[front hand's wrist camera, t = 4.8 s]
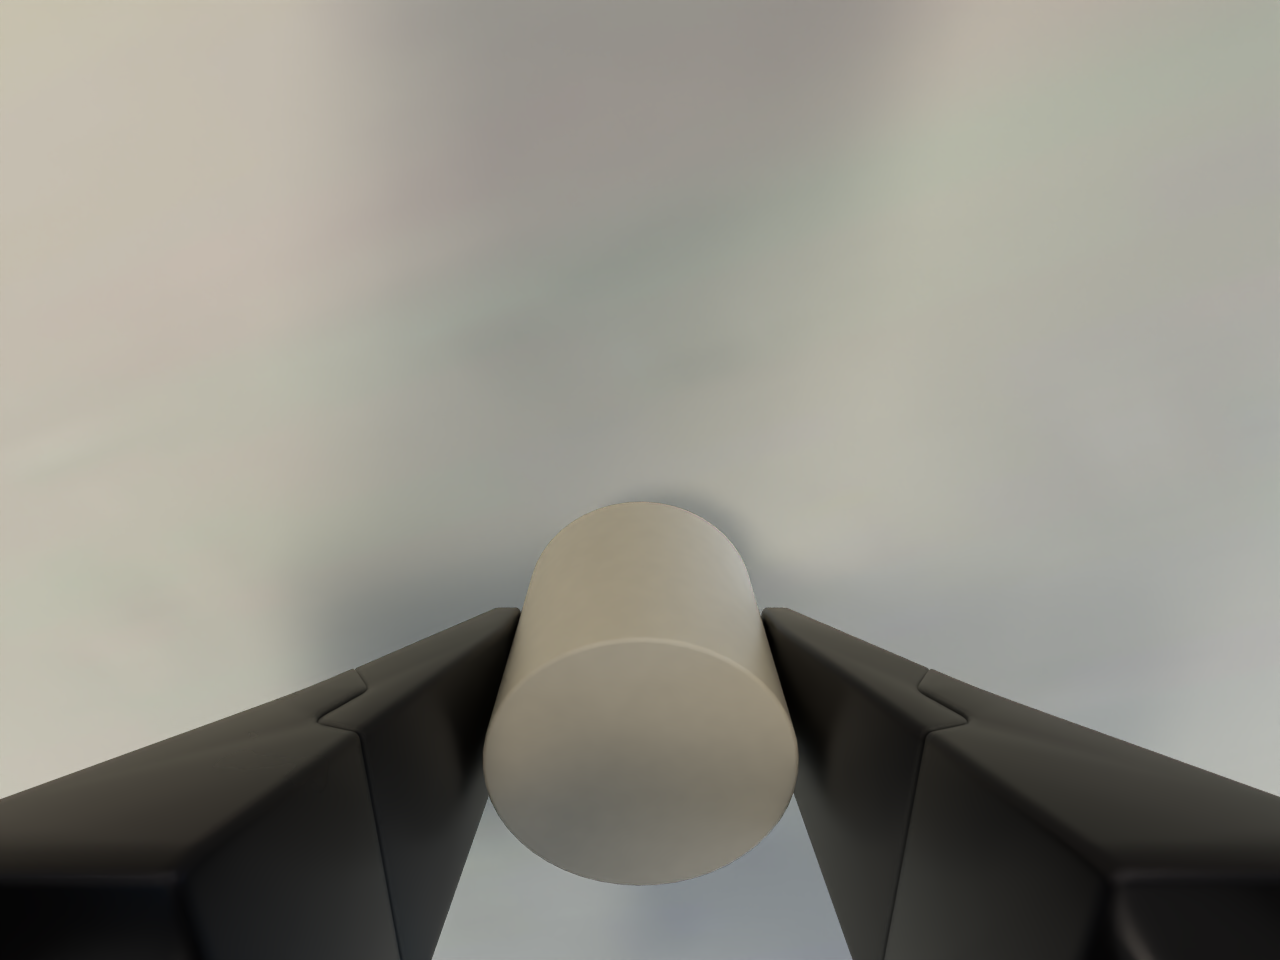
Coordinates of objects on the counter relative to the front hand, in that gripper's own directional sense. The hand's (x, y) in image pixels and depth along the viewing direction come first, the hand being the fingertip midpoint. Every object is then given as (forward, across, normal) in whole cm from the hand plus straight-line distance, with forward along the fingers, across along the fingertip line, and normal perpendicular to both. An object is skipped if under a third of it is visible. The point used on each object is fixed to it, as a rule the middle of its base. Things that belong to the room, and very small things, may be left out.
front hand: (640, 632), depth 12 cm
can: (+1, 0, 0) cm, 1 cm away
